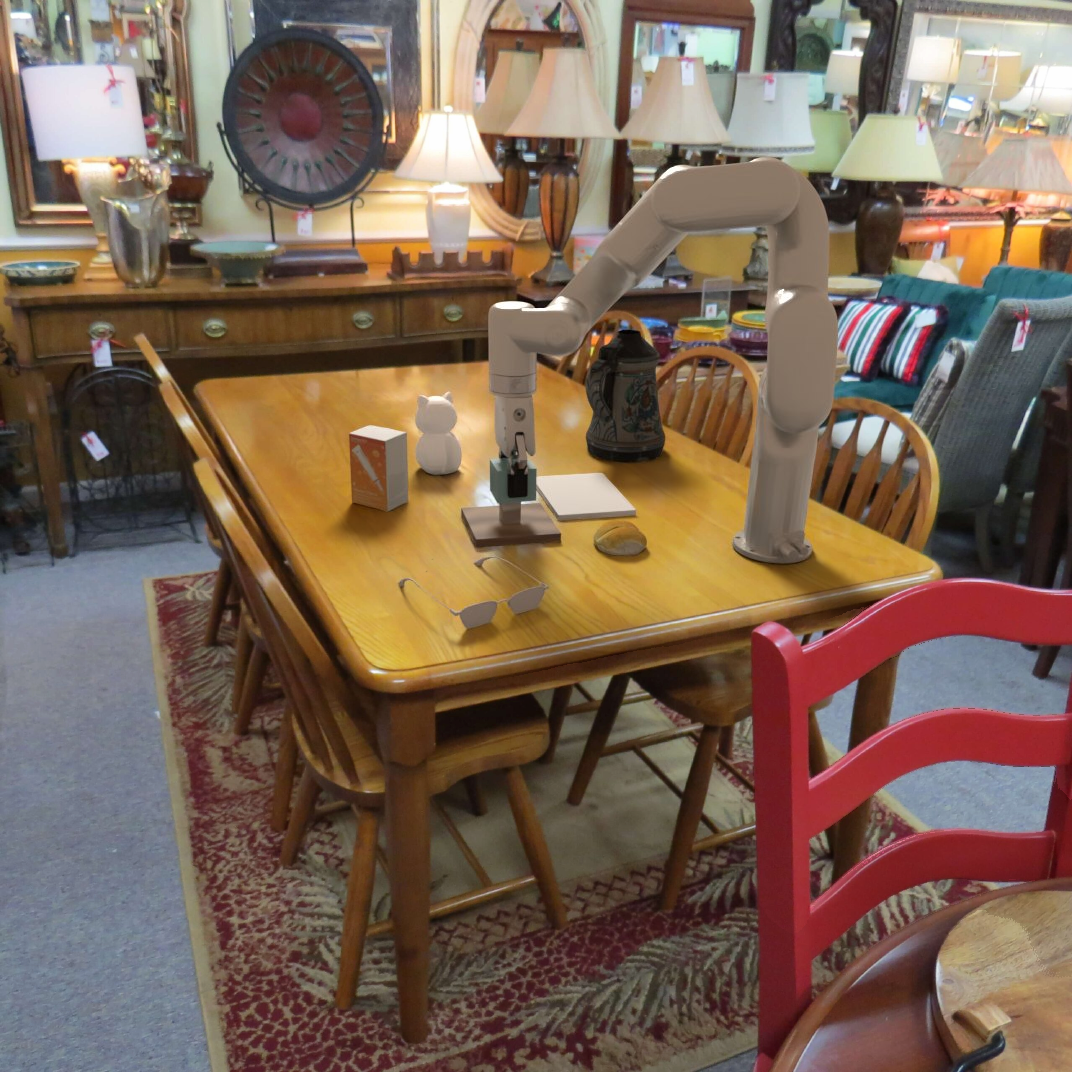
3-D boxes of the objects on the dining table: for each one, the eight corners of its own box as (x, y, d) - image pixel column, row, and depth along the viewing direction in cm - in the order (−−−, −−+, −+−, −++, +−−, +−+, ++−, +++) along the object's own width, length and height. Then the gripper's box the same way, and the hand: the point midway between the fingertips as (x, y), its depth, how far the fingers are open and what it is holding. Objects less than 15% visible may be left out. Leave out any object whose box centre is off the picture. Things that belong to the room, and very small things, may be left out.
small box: (351, 503, 173) (347, 432, 168) (373, 493, 179) (370, 423, 174) (387, 512, 170) (385, 440, 165) (409, 501, 175) (407, 431, 170)
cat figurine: (449, 459, 198) (447, 386, 192) (475, 477, 187) (474, 400, 182) (407, 465, 194) (404, 390, 188) (431, 484, 183) (429, 405, 178)
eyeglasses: (456, 636, 131) (456, 610, 129) (392, 587, 144) (391, 562, 142) (549, 608, 139) (550, 582, 137) (480, 563, 152) (480, 540, 151)
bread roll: (633, 534, 164) (635, 511, 163) (651, 555, 156) (653, 532, 155) (586, 537, 162) (587, 514, 161) (601, 559, 154) (603, 535, 153)
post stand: (560, 541, 160) (562, 504, 157) (476, 548, 157) (476, 510, 154) (540, 510, 172) (541, 475, 170) (461, 516, 169) (461, 480, 167)
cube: (536, 500, 160) (536, 468, 158) (497, 503, 158) (497, 471, 156) (527, 487, 166) (527, 456, 164) (490, 490, 164) (489, 458, 162)
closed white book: (635, 515, 171) (636, 509, 171) (558, 520, 168) (558, 515, 168) (601, 477, 189) (602, 472, 189) (531, 481, 186) (531, 476, 186)
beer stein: (669, 443, 211) (679, 327, 201) (654, 471, 193) (664, 345, 184) (594, 436, 215) (600, 321, 205) (573, 462, 197) (578, 338, 188)
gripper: (549, 395, 148) (547, 506, 155) (523, 369, 163) (523, 471, 170) (500, 397, 146) (501, 510, 153) (479, 371, 162) (480, 474, 169)
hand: (512, 488), depth 162 cm, fingers closed on cube, 6 cm apart
